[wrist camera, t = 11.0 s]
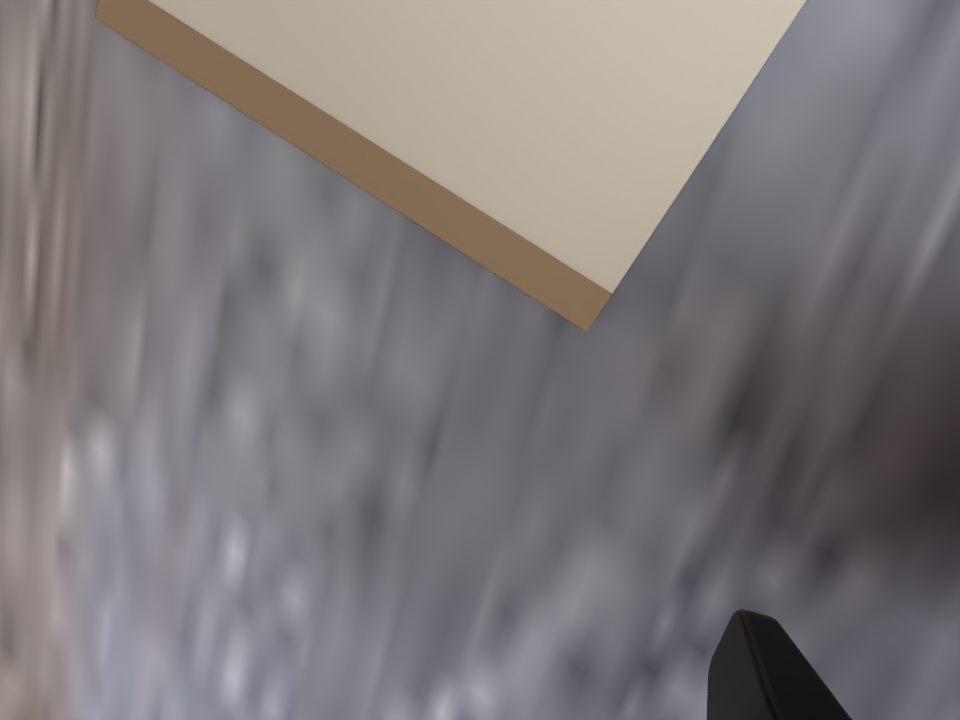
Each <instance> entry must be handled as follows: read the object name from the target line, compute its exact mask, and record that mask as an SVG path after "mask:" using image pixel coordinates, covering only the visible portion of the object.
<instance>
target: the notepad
mask: <svg viewBox="0 0 960 720" xmlns="http://www.w3.org/2000/svg"><path fill="white" fill-rule="evenodd" d="M805 2H806V0H99V2H98V6H97V10H96V14H95V18H96V19H97V20H99V21H101V22H102V23H104V24H105V25H107V26H108V27H110V28H112V29H113V30H115V31H116V32H118V33H119V34H121V35H122V36H124V37H126V38H127V39H129V40H130V41H132V42H133V43H135V44H137V45H138V46H140V47H141V48H143V49H144V50H146V51H148V52H149V53H151V54H152V55H154V56H155V57H157V58H158V59H160V60H162V61H163V62H165V63H166V64H168V65H169V66H171V67H173V68H174V69H176V70H177V71H179V72H180V73H182V74H184V75H185V76H187V77H188V78H190V79H191V80H193V81H195V82H196V83H198V84H199V85H201V86H202V87H204V88H205V89H207V90H209V91H210V92H212V93H213V94H215V95H216V96H218V97H220V98H221V99H223V100H224V101H226V102H227V103H229V104H231V105H232V106H234V107H235V108H237V109H238V110H240V111H241V112H243V113H245V114H246V115H248V116H249V117H251V118H252V119H254V120H256V121H257V122H259V123H260V124H262V125H263V126H265V127H267V128H268V129H270V130H271V131H273V132H274V133H276V134H277V135H279V136H281V137H282V138H284V139H285V140H287V141H288V142H290V143H292V144H293V145H295V146H296V147H298V148H299V149H301V150H303V151H304V152H306V153H307V154H309V155H310V156H312V157H314V158H315V159H317V160H318V161H320V162H321V163H323V164H324V165H326V166H328V167H329V168H331V169H332V170H334V171H335V172H337V173H339V174H340V175H342V176H343V177H345V178H346V179H348V180H350V181H351V182H353V183H354V184H356V185H357V186H359V187H360V188H362V189H364V190H365V191H367V192H368V193H370V194H371V195H373V196H375V197H376V198H378V199H379V200H381V201H382V202H384V203H386V204H387V205H389V206H390V207H392V208H393V209H395V210H397V211H398V212H400V213H401V214H403V215H404V216H406V217H407V218H409V219H411V220H412V221H414V222H415V223H417V224H418V225H420V226H422V227H423V228H425V229H426V230H428V231H429V232H431V233H433V234H434V235H436V236H437V237H439V238H440V239H442V240H443V241H445V242H447V243H448V244H450V245H451V246H453V247H454V248H456V249H458V250H459V251H461V252H462V253H464V254H465V255H467V256H469V257H470V258H472V259H473V260H475V261H476V262H478V263H479V264H481V265H483V266H484V267H486V268H487V269H489V270H490V271H492V272H494V273H495V274H497V275H498V276H500V277H501V278H503V279H505V280H506V281H508V282H509V283H511V284H512V285H514V286H516V287H517V288H519V289H520V290H522V291H523V292H525V293H526V294H528V295H530V296H531V297H533V298H534V299H536V300H537V301H539V302H541V303H542V304H544V305H545V306H547V307H548V308H550V309H552V310H553V311H555V312H556V313H558V314H559V315H561V316H562V317H564V318H566V319H567V320H569V321H570V322H572V323H573V324H575V325H577V326H578V327H580V328H581V329H583V330H584V331H586V332H587V331H588V330H589V328H590V327H591V325H592V324H593V322H594V321H595V319H596V318H597V316H598V315H599V313H600V312H601V310H602V309H603V307H604V306H605V304H606V303H607V301H608V300H609V298H610V297H611V295H612V293H613V292H614V290H615V289H616V287H617V286H618V284H619V283H620V281H621V280H622V278H623V277H624V275H625V274H626V272H627V271H628V269H629V268H630V266H631V265H632V263H633V262H634V260H635V259H636V257H637V256H638V254H639V253H640V251H641V250H642V248H643V247H644V245H645V244H646V242H647V241H648V239H649V238H650V236H651V234H652V233H653V231H654V230H655V228H656V227H657V225H658V224H659V222H660V221H661V219H662V218H663V216H664V215H665V213H666V212H667V210H668V209H669V207H670V206H671V204H672V203H673V201H674V200H675V198H676V197H677V195H678V194H679V192H680V191H681V189H682V188H683V186H684V185H685V183H686V182H687V180H688V179H689V177H690V175H691V174H692V172H693V171H694V169H695V168H696V166H697V165H698V163H699V162H700V160H701V159H702V157H703V156H704V154H705V153H706V151H707V150H708V148H709V147H710V145H711V144H712V142H713V141H714V139H715V138H716V136H717V135H718V133H719V132H720V130H721V129H722V127H723V126H724V124H725V123H726V121H727V120H728V118H729V116H730V115H731V113H732V112H733V110H734V109H735V107H736V106H737V104H738V103H739V101H740V100H741V98H742V97H743V95H744V94H745V92H746V91H747V89H748V88H749V86H750V85H751V83H752V82H753V80H754V79H755V77H756V76H757V74H758V73H759V71H760V70H761V68H762V67H763V65H764V64H765V62H766V61H767V59H768V58H769V56H770V54H771V53H772V51H773V50H774V48H775V47H776V45H777V44H778V42H779V41H780V39H781V38H782V36H783V35H784V33H785V32H786V30H787V29H788V27H789V26H790V24H791V23H792V21H793V20H794V18H795V17H796V15H797V14H798V12H799V11H800V9H801V8H802V6H803V5H804V3H805Z"/></svg>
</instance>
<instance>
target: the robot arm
mask: <svg viewBox="0 0 960 720" xmlns="http://www.w3.org/2000/svg"><path fill="white" fill-rule="evenodd" d="M707 720H852V719H851V718H850V717H849V715H848V714H847V713H846V711H845V710H844V709H843V707H842V706H841V705H840V703H839V702H838V701H837V699H836V698H835V697H834V695H833V694H832V693H831V691H830V690H829V689H828V687H827V686H826V685H825V683H824V682H823V681H822V679H821V678H820V677H819V675H818V674H817V673H816V671H815V670H814V669H813V667H812V666H811V665H810V664H809V662H808V661H807V660H806V658H805V657H804V656H803V654H802V653H801V652H800V650H799V649H798V648H797V646H796V645H795V644H794V642H793V641H792V640H791V638H790V637H789V636H788V634H787V633H786V632H785V630H784V629H783V628H782V626H781V625H780V624H779V623H778V622H777V621H776V620H775V619H774V618H772V617H770V616H767V615H763V614H759V613H756V612H752V611H748V610H743V609H742V610H738V611H736V612H735V613H734V614H733V616H732V617H731V619H730V621H729V623H728V625H727V627H726V629H725V632H724V634H723V636H722V638H721V640H720V642H719V644H718V646H717V648H716V650H715V652H714V654H713V657H712V659H711V663H710V667H709V673H708V696H707Z"/></svg>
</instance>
